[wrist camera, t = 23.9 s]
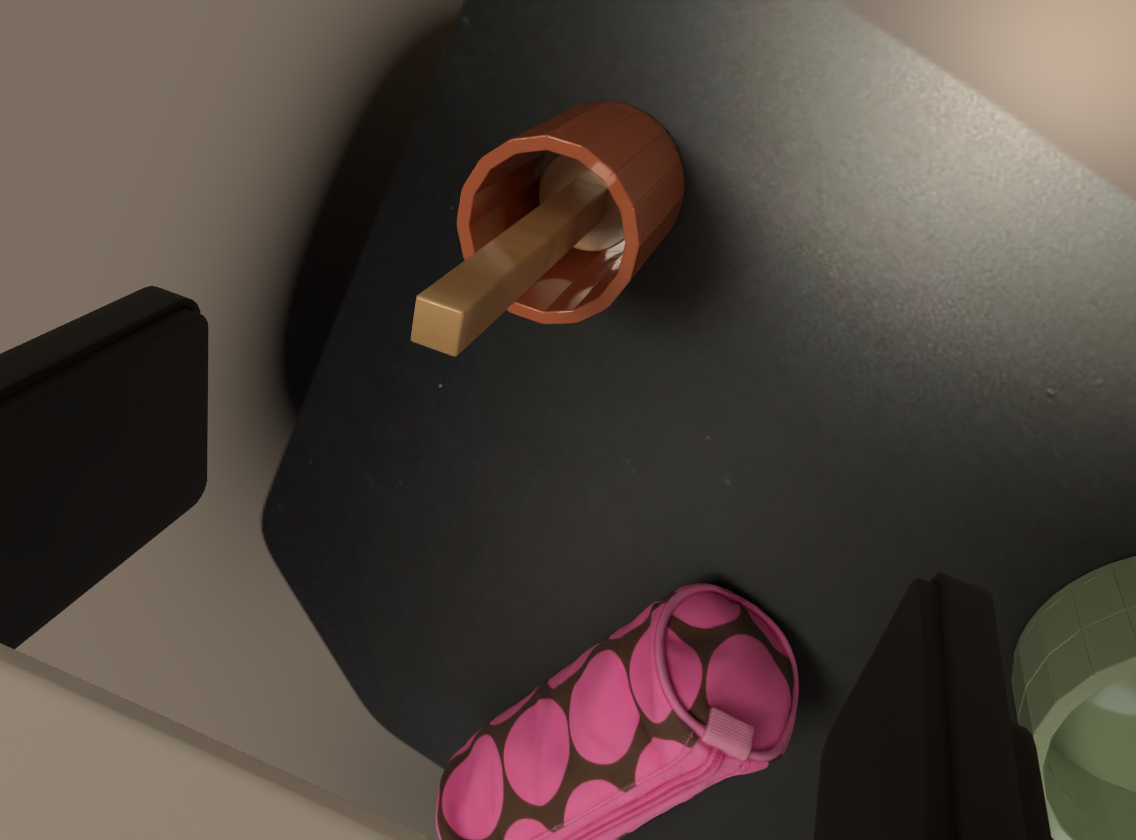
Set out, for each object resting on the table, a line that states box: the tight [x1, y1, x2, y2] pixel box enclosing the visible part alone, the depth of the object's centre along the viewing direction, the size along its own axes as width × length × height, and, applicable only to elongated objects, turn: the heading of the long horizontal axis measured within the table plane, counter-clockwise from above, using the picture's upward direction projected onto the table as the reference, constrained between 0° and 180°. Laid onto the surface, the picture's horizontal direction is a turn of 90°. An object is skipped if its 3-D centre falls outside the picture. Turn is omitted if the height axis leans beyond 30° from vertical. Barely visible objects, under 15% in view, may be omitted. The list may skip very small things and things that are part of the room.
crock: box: [457, 101, 685, 324], centre depth 35 cm, size 7×7×8 cm
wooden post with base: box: [411, 154, 624, 356], centre depth 31 cm, size 4×4×16 cm
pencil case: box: [435, 583, 799, 840], centre depth 47 cm, size 21×10×10 cm, turn 143°
